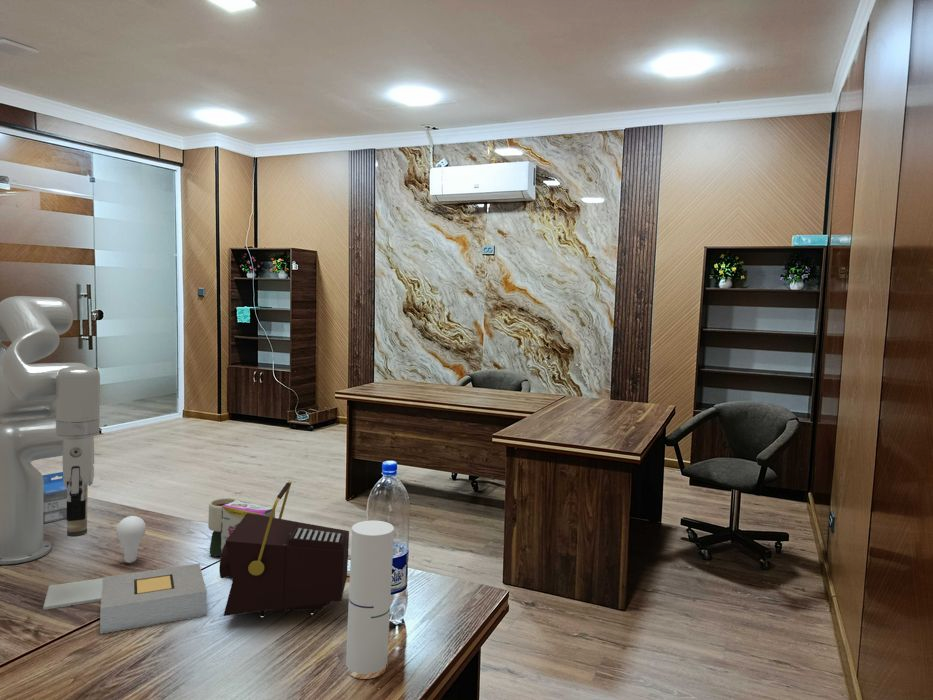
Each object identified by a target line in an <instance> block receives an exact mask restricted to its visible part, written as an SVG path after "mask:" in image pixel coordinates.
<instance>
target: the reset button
mask: <svg viewBox="0 0 933 700" xmlns="http://www.w3.org/2000/svg"><path fill="white" fill-rule="evenodd" d="M168 589H172V587H171V580H170V576H165V577H158V578H151V579H144V580H137V594H142V593H149V592H155V591H162V590H168Z"/></svg>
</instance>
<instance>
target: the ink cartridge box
mask: <svg viewBox="0 0 933 700" xmlns="http://www.w3.org/2000/svg"><path fill="white" fill-rule="evenodd" d="M42 476H43V480H44V500H43V525H44V524H49V523H52V522H58V521H62V520H65V519H66V520H67V488H66V487H65V486H64V482H63V471H59V472H54V473H48V474H42ZM56 477H58V478H57V479H55V478H56ZM60 477H61V478H60Z"/></svg>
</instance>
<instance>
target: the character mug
mask: <svg viewBox="0 0 933 700" xmlns="http://www.w3.org/2000/svg"><path fill="white" fill-rule="evenodd" d="M235 500H238V501H241V500H240V499H239V498H234V497H222V498H221V497H220V498H216V499H213V500H210V501H209V503H208V521H207V522H208V529H209V530H210V531H212V534H211V539H210V544H209V555H211V556H213V557H221V525H222V506H223V505H225V504H228V503H230V502H232V501H235Z"/></svg>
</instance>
